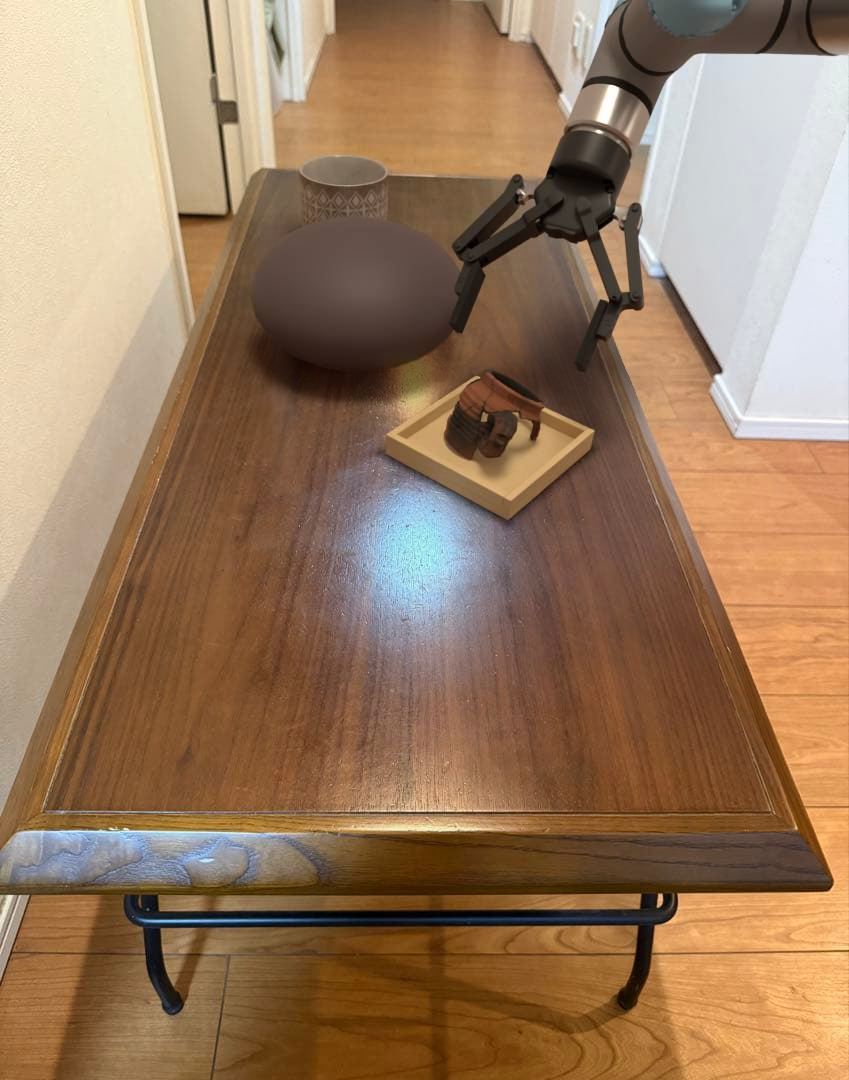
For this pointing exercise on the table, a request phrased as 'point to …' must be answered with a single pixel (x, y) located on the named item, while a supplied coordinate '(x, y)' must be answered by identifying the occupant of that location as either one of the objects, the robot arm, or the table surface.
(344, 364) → the smooth stone
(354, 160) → the planter
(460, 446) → the pottery mug
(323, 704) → the table surface
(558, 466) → the wooden tray
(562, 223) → the robot arm
